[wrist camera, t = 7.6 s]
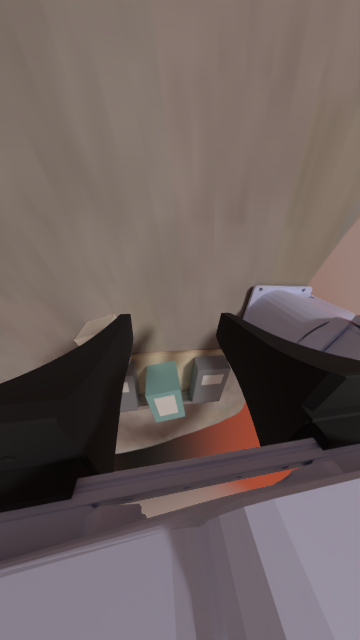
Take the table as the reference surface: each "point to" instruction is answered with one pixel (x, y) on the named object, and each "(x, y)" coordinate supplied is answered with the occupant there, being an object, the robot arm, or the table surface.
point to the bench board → (181, 357)
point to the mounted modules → (203, 382)
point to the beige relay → (94, 329)
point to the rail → (144, 405)
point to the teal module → (164, 391)
